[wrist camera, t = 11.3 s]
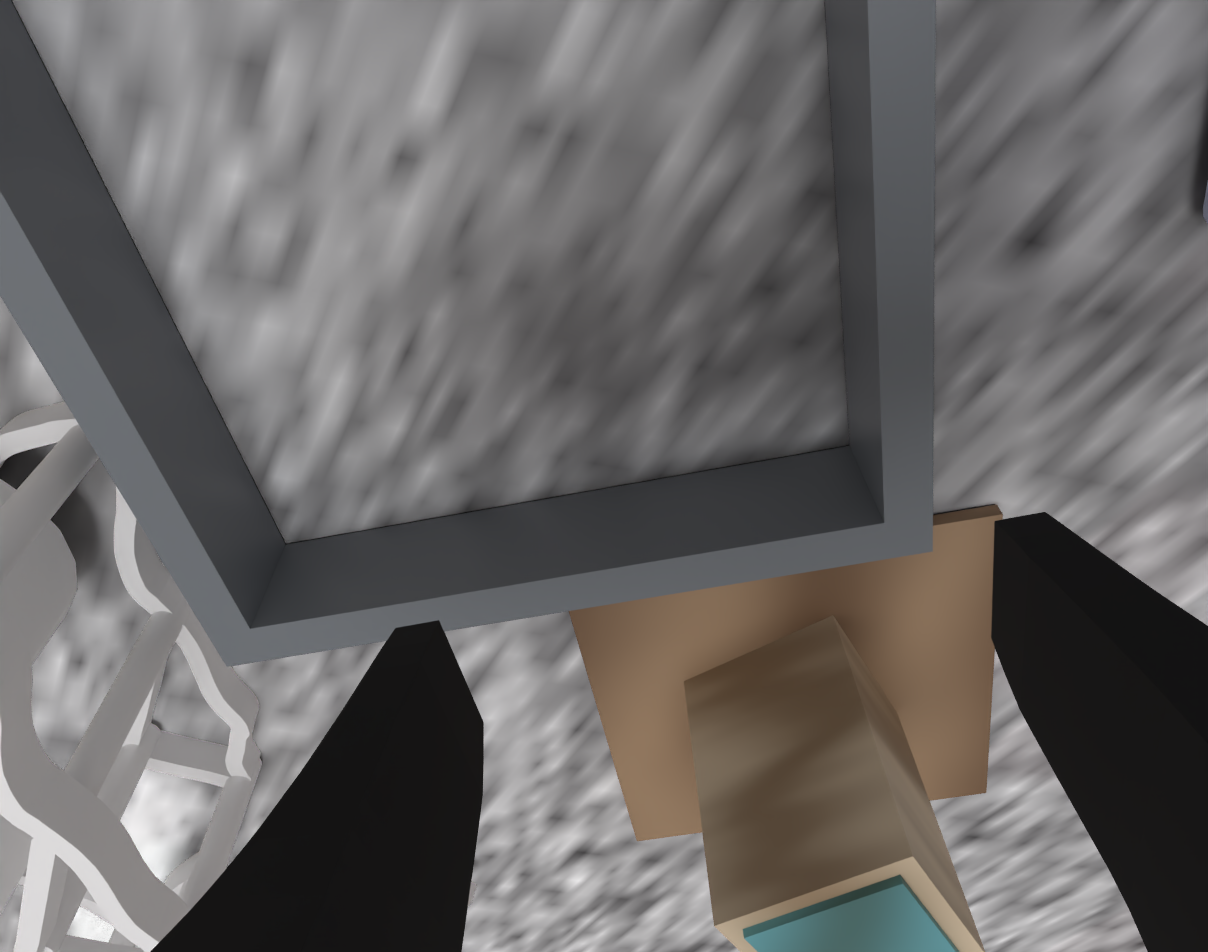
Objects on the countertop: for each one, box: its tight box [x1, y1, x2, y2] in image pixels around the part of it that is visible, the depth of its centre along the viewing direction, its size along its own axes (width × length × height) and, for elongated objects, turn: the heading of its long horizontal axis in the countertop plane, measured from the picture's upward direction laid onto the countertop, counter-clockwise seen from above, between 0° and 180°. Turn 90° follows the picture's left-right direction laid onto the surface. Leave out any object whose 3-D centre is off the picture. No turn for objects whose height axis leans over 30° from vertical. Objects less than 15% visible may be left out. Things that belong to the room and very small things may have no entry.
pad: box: [569, 505, 1003, 841], centre depth 26 cm, size 11×11×1 cm
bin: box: [0, 0, 936, 667], centre depth 17 cm, size 16×16×3 cm
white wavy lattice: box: [0, 401, 262, 952], centre depth 23 cm, size 20×11×7 cm, turn 156°
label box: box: [684, 616, 985, 952], centre depth 23 cm, size 4×4×7 cm
